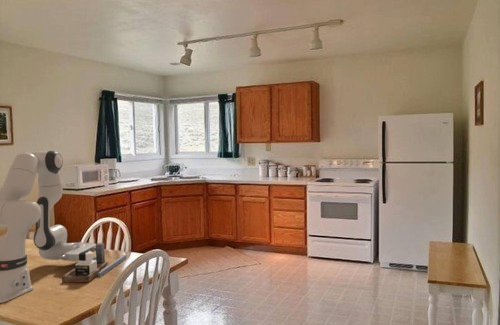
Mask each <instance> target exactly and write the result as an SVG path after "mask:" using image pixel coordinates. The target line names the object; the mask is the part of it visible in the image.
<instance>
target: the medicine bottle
mask: <svg viewBox="0 0 500 325" xmlns="http://www.w3.org/2000/svg"><path fill="white" fill-rule="evenodd" d="M93 254H94V252H93V253H92V252H91V251H84V252H81V253H79V260H78V262H77V263H75V266H74V268H75V275H74V276H87V275H89V274H90V273H92V272H93V271H95V270H96V269H97V261H96V260H93V257H94V255H93Z"/></svg>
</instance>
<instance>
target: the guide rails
mask: <svg viewBox="0 0 500 325" xmlns="http://www.w3.org/2000/svg"><path fill="white" fill-rule="evenodd" d="M124 259H125V260H126V259H127V255H126V254H123V255H122V256H120V257H119V258H118V259H116V260H114V261H113V262H111V263H110V264H109V265H106V266H105V268H104V267H103V268H102V269H101V271H100V272H98V275H97V278H101V277H102V276H103V277H104V275H106V274H107V273H109V271H111V270H112V269H114V268H115V267H116V265H117V266H118V265H119V264H121V263H122V262H124V261H125V260H124ZM93 260H96V255H95V256H94V255H93ZM123 260H124V261H123ZM120 262H121V263H120ZM73 269H75V267H74V268H72V269H71V270H69V271H68V272H70V271H72V270H73Z"/></svg>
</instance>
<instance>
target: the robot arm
mask: <svg viewBox="0 0 500 325" xmlns="http://www.w3.org/2000/svg"><path fill="white" fill-rule="evenodd" d="M63 163H64V162H63V156H62V155H61V154H60V153H59V152H58V151H55V150H41V151H40V150H35V151H34V150H33V151H28V152H25V151H24V152H21V153H18V154H17V155H16V156H15V158H14V159H13V161H12V163H11V164H10V167H9V169H8V172H7V175H6V177H5V180H4V182H3V184H2V186H1V187H0V227H7V229H6V230H7V231H6V232H5V233H4V234H3V235H1V236H0V304H1V303H2V304H3V303H5V302H8V301H11V300H12V299H15V298H17V297H20V296H21V295H23V294H27V293H29V292H31V291H33V290H34V286H33V285H32V281H31V277H30V276H31V275H30V270H29V269H28V266H27V264H28V256H27V254H26V240H27V235H28V233H29V231H30V229H32V227H33V226H34V225H35V232H34V235H33V244H34V246H35V248H37V249H38V255H39V256H40V258H42V259H44V260H51V261H59V260H62V261H67V262H79V253H81V252H84V251H91V252H92V253H93V254H94V252H96V244H97V243H95V242H94V243H93V242H83V241H77V242H68V234H69V233H68V230H67V228H66V227H65V226H64V225H62V224H55V225H52V226H51V224H50V221H51V220H50V219H51V217H50V214H51V210H52V208H54V206H55V205H56V203H58V202H59V201H60V200H61V198H62V197H63V190H64V189H63V188H64V187H63V178H62V175H61V171H60V170H61V169H62V167H63ZM36 177H37V186H38V197H37V200H36V202H35V201H30V200H24V199H23V198H25V197H27V196H28V195H30V193H31V192H32V189H33V186H34V183H35V180H36ZM21 199H23V200H21Z"/></svg>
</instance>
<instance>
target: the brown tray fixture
mask: <svg viewBox="0 0 500 325" xmlns="http://www.w3.org/2000/svg"><path fill="white" fill-rule="evenodd" d="M95 244H96V251H95V256H96V261H97V269H96V270H95V271H93V272H92V273H90V274H89V275H87V276H75V269H74V268H72V269H73V270H72V269H71V270H72V271H71V270H69V271H70V272H69V271H67V273H65V274H63V275H61V281H62V282H67V283H69V282H70V283H89V282H91V281H92V280H93V279H95V278H96V277H98V272H100V271H101V270H102V269H104V267H107V266H108V263H109V262H108V261H106V256H105V243H104V242H98V243H95Z"/></svg>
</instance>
